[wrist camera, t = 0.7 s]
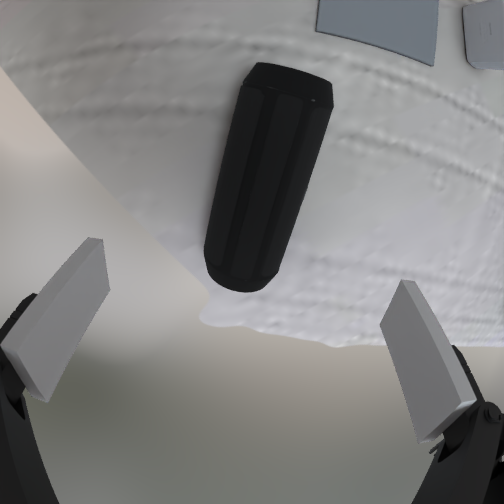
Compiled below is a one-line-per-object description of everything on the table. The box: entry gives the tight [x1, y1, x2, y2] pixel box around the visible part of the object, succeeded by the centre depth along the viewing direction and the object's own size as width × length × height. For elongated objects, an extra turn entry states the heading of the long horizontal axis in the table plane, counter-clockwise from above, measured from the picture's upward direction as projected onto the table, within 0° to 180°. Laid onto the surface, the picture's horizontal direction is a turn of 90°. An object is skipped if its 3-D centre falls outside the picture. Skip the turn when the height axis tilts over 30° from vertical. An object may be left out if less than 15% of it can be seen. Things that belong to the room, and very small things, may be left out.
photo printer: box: [463, 0, 504, 70], centre depth 20 cm, size 10×4×12 cm, turn 2°
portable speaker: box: [204, 62, 334, 292], centre depth 34 cm, size 26×10×10 cm, turn 166°
